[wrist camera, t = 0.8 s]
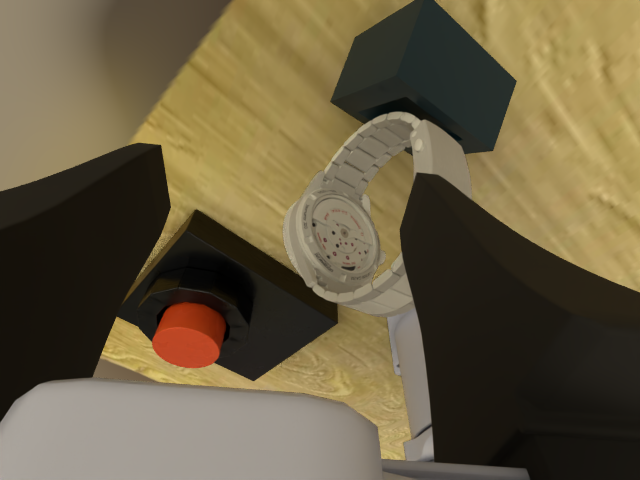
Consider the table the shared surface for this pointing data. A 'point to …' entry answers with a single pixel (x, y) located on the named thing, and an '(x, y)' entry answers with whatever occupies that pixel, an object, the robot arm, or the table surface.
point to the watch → (394, 147)
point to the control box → (231, 296)
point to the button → (189, 335)
